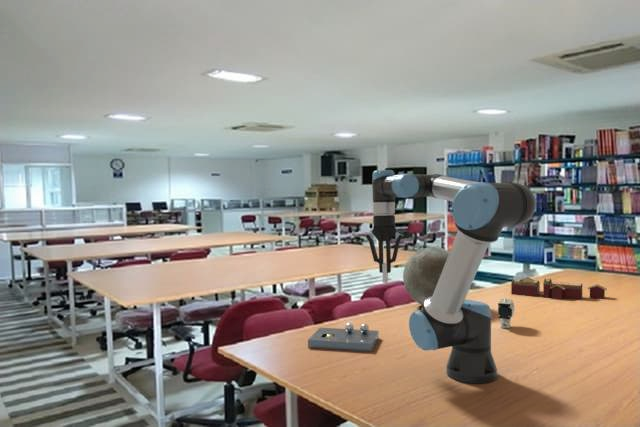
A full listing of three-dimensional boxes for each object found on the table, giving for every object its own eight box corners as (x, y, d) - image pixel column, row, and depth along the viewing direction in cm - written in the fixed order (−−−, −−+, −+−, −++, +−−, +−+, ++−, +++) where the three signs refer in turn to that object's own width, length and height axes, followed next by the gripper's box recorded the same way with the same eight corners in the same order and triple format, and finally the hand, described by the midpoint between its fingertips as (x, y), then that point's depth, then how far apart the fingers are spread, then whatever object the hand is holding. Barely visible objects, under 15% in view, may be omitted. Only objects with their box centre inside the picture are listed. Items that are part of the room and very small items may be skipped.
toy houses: (510, 295, 265) (510, 277, 264) (518, 289, 282) (517, 272, 282) (605, 304, 240) (605, 284, 240) (607, 296, 257) (607, 278, 257)
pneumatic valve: (497, 330, 198) (497, 301, 198) (501, 323, 208) (501, 295, 208) (512, 331, 196) (512, 302, 195) (515, 324, 206) (515, 296, 205)
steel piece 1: (352, 333, 188) (352, 324, 188) (344, 332, 189) (344, 324, 189) (354, 330, 191) (354, 322, 191) (346, 330, 192) (345, 321, 192)
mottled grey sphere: (391, 307, 243) (390, 247, 242) (428, 297, 262) (427, 243, 261) (440, 317, 220) (440, 252, 219) (477, 306, 239) (476, 246, 238)
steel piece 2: (368, 334, 186) (367, 325, 186) (359, 333, 187) (359, 324, 187) (369, 331, 190) (369, 323, 189) (361, 331, 190) (360, 322, 190)
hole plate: (371, 352, 174) (371, 343, 174) (308, 347, 181) (307, 339, 180) (378, 338, 190) (378, 330, 190) (320, 334, 197) (320, 327, 197)
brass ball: (334, 340, 183) (328, 334, 184) (328, 346, 184) (322, 339, 184) (336, 338, 186) (330, 331, 187) (330, 343, 187) (324, 337, 188)
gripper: (403, 214, 170) (405, 280, 171) (367, 214, 173) (368, 279, 174) (401, 214, 163) (403, 284, 163) (363, 215, 166) (365, 283, 167)
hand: (385, 281), depth 169 cm, fingers closed
